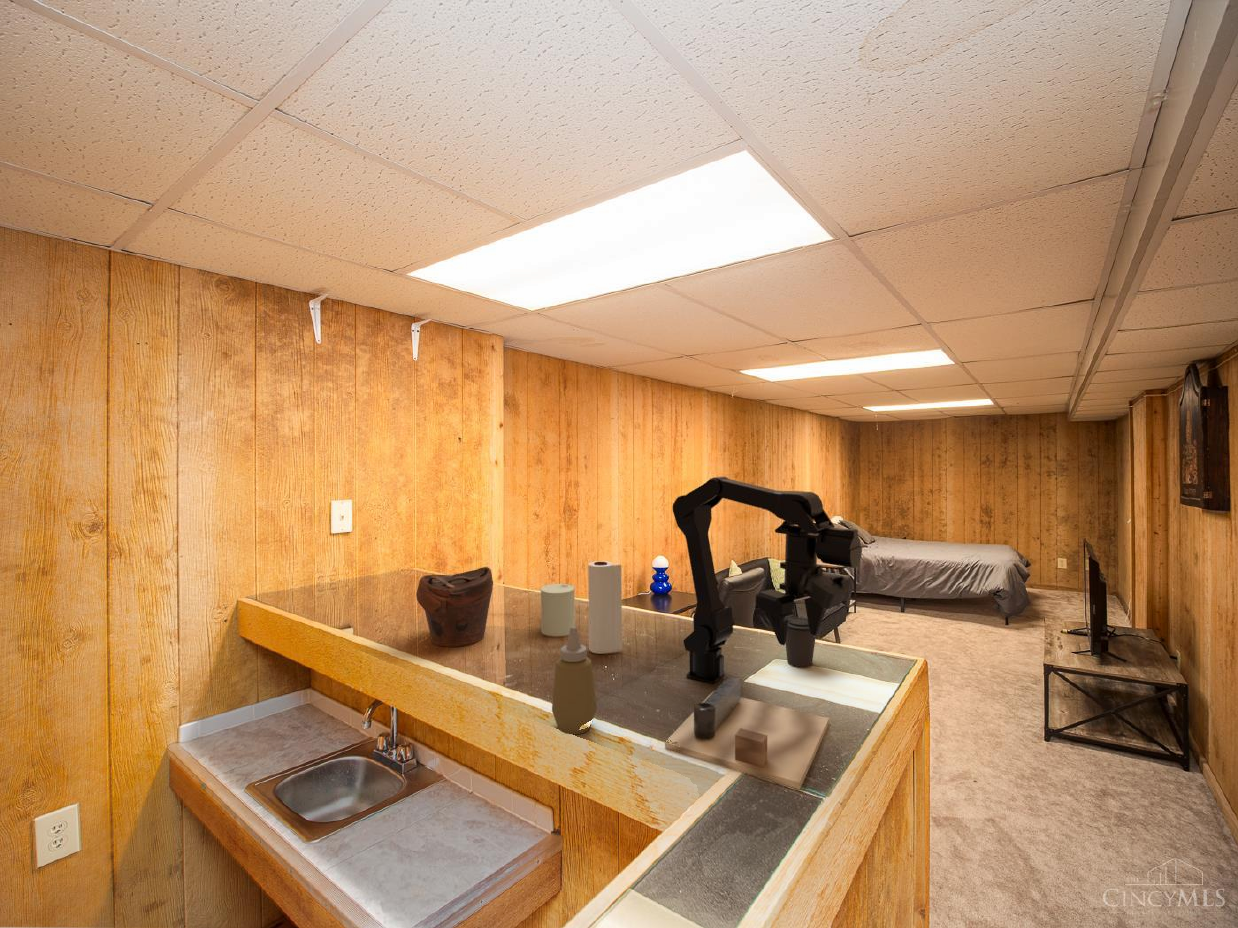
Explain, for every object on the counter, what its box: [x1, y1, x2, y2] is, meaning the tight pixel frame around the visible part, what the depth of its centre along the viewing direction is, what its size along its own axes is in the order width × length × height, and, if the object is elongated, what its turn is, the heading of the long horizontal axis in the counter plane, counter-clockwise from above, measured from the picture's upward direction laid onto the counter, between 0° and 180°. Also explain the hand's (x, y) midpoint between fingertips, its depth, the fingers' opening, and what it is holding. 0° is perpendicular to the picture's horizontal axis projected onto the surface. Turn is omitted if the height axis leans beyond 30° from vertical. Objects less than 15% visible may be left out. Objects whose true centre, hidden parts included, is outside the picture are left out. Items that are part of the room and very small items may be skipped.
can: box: [540, 583, 576, 638], centre depth 151 cm, size 9×9×12 cm
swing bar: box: [693, 675, 742, 739], centre depth 101 cm, size 17×4×4 cm, turn 149°
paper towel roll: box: [587, 560, 623, 655], centre depth 137 cm, size 7×6×21 cm
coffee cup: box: [785, 617, 817, 669], centre depth 129 cm, size 8×8×10 cm
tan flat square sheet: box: [664, 690, 830, 790], centre depth 98 cm, size 22×22×1 cm
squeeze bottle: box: [551, 626, 597, 735], centre depth 101 cm, size 8×8×18 cm
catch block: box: [735, 728, 767, 768], centre depth 89 cm, size 4×2×4 cm, turn 59°
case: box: [415, 566, 494, 648], centre depth 145 cm, size 18×20×18 cm
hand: (798, 639), depth 108 cm, fingers open, 9 cm apart
